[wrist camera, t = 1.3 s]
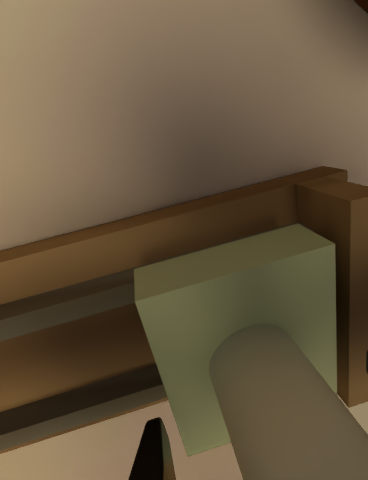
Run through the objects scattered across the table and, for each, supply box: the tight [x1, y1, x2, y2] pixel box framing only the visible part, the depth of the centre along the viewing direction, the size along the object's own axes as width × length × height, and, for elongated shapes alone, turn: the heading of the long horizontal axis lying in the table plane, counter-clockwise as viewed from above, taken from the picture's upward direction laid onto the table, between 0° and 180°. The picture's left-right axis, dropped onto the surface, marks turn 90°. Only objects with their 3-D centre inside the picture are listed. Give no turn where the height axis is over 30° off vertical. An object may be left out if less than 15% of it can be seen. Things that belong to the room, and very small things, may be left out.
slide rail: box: [0, 166, 368, 454], centre depth 11 cm, size 9×22×4 cm, turn 102°
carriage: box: [134, 224, 368, 480], centre depth 8 cm, size 7×6×8 cm
